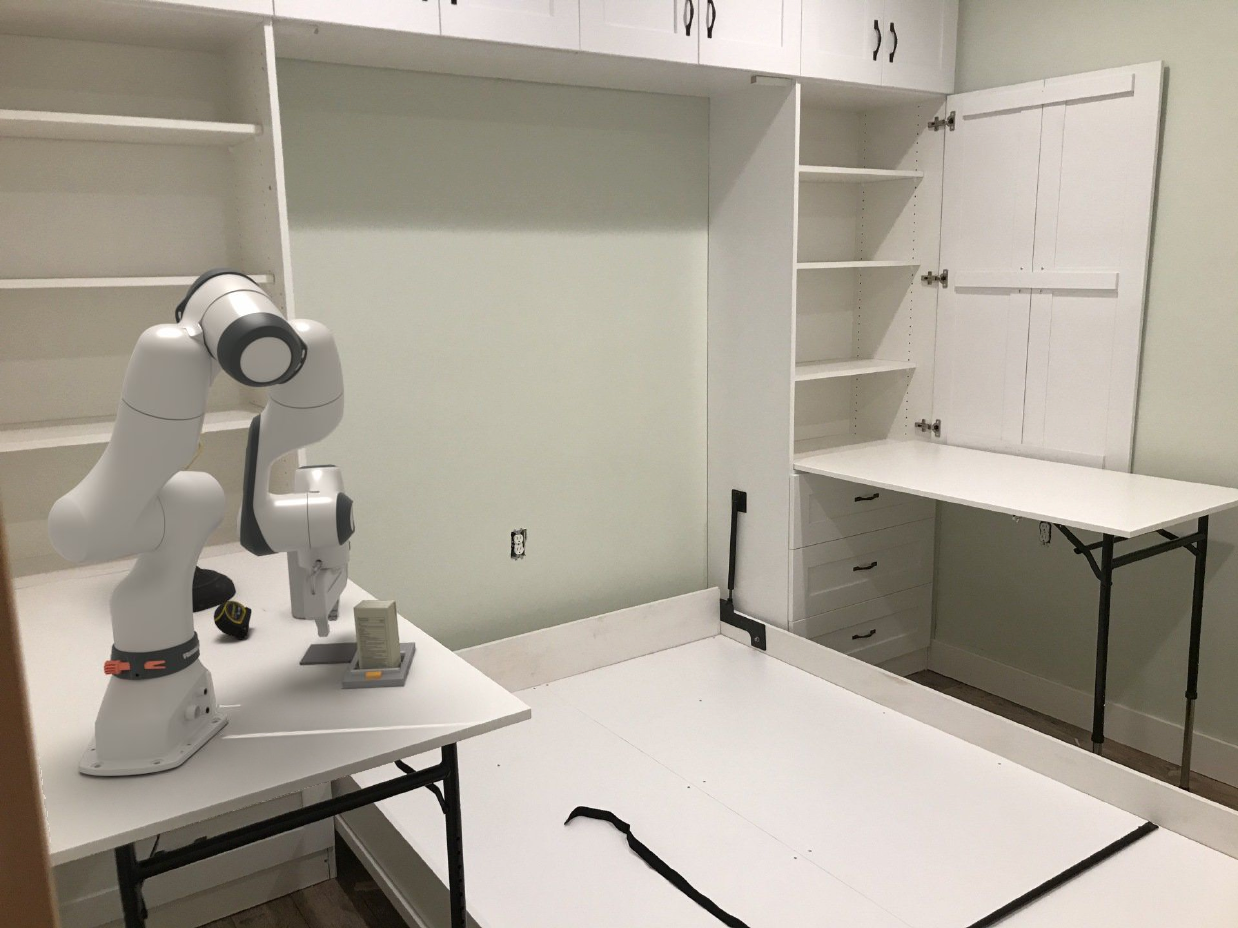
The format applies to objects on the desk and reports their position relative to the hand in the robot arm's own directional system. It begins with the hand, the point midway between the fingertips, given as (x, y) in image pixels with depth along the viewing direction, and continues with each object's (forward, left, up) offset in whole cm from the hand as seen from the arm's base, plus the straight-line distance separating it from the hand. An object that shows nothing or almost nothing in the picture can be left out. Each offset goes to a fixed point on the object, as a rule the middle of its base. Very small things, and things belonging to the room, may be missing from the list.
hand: (328, 627), depth 177 cm
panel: (-7, -10, -5) cm, 14 cm away
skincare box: (-9, -10, -5) cm, 14 cm away
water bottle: (+22, +8, -5) cm, 24 cm away
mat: (0, 0, -5) cm, 5 cm away
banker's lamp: (+36, +39, -5) cm, 53 cm away
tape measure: (+12, +20, -5) cm, 24 cm away
